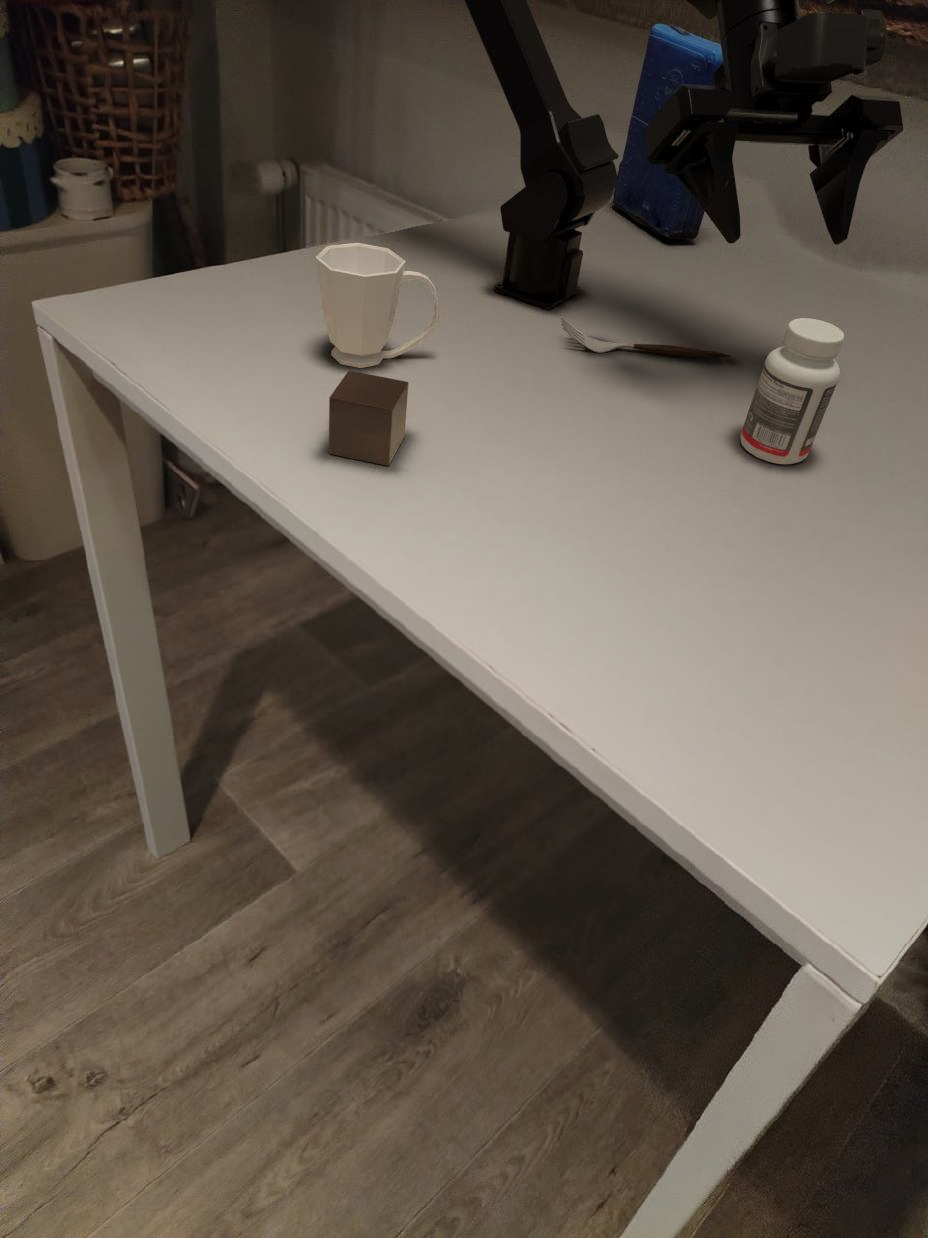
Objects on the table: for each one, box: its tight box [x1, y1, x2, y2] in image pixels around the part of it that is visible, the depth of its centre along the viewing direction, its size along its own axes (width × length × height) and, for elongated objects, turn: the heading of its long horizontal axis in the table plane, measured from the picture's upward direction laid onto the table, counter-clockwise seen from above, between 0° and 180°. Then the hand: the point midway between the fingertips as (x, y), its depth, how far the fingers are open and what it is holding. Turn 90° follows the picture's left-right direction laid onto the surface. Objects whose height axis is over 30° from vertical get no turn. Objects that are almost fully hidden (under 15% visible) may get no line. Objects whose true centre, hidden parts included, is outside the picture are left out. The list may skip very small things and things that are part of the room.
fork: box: [560, 316, 732, 359], centre depth 82 cm, size 3×16×2 cm, turn 89°
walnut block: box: [328, 369, 409, 467], centre depth 63 cm, size 4×4×4 cm
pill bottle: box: [740, 317, 845, 465], centre depth 68 cm, size 5×5×10 cm
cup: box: [315, 242, 440, 369], centre depth 73 cm, size 7×10×8 cm
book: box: [612, 23, 727, 240], centre depth 104 cm, size 14×5×20 cm, turn 23°
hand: (788, 241), depth 67 cm, fingers open, 9 cm apart
